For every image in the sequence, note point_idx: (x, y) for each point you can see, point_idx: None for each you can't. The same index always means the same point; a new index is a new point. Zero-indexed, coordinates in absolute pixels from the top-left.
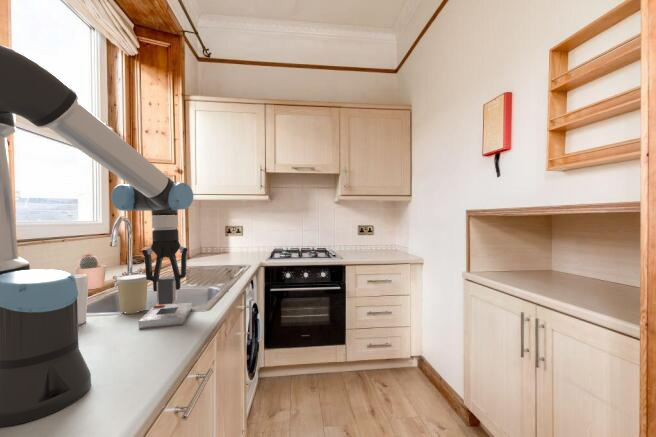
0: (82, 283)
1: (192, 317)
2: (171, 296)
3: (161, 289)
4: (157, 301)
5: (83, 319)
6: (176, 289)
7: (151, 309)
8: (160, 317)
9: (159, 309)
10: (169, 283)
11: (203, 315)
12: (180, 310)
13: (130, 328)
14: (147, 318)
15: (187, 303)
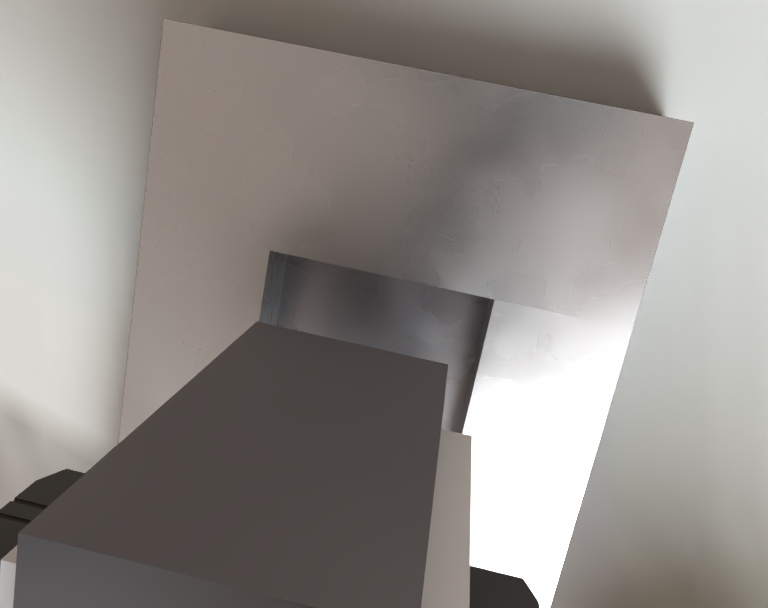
0: None
1: (115, 257)
2: (229, 359)
3: (368, 459)
4: (465, 438)
5: None
6: None
7: (545, 570)
8: (428, 144)
9: None
10: (150, 481)
11: (6, 268)
12: (204, 333)
13: (754, 204)
14: (585, 187)
15: None
